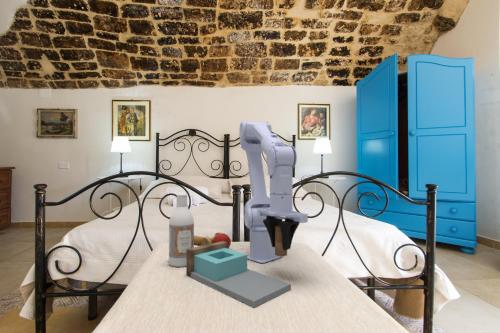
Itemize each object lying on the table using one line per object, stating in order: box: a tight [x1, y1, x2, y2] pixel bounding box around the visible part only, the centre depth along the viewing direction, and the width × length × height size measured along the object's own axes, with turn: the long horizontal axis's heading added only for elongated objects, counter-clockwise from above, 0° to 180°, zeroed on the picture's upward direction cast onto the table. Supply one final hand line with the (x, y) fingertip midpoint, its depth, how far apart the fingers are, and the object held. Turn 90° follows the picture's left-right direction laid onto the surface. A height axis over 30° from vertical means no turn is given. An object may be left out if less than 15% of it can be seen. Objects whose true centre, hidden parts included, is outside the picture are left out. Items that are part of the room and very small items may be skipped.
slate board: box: [185, 268, 292, 308], centre depth 66 cm, size 12×24×1 cm, turn 45°
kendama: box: [194, 231, 232, 249], centre depth 96 cm, size 8×6×18 cm
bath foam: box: [168, 193, 195, 268], centre depth 80 cm, size 7×7×20 cm
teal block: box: [194, 248, 248, 281], centre depth 70 cm, size 10×9×4 cm
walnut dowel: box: [275, 225, 288, 257], centre depth 69 cm, size 3×3×7 cm
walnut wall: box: [185, 241, 227, 278], centre depth 74 cm, size 12×2×7 cm, turn 135°
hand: (281, 247), depth 69 cm, fingers closed on walnut dowel, 3 cm apart
